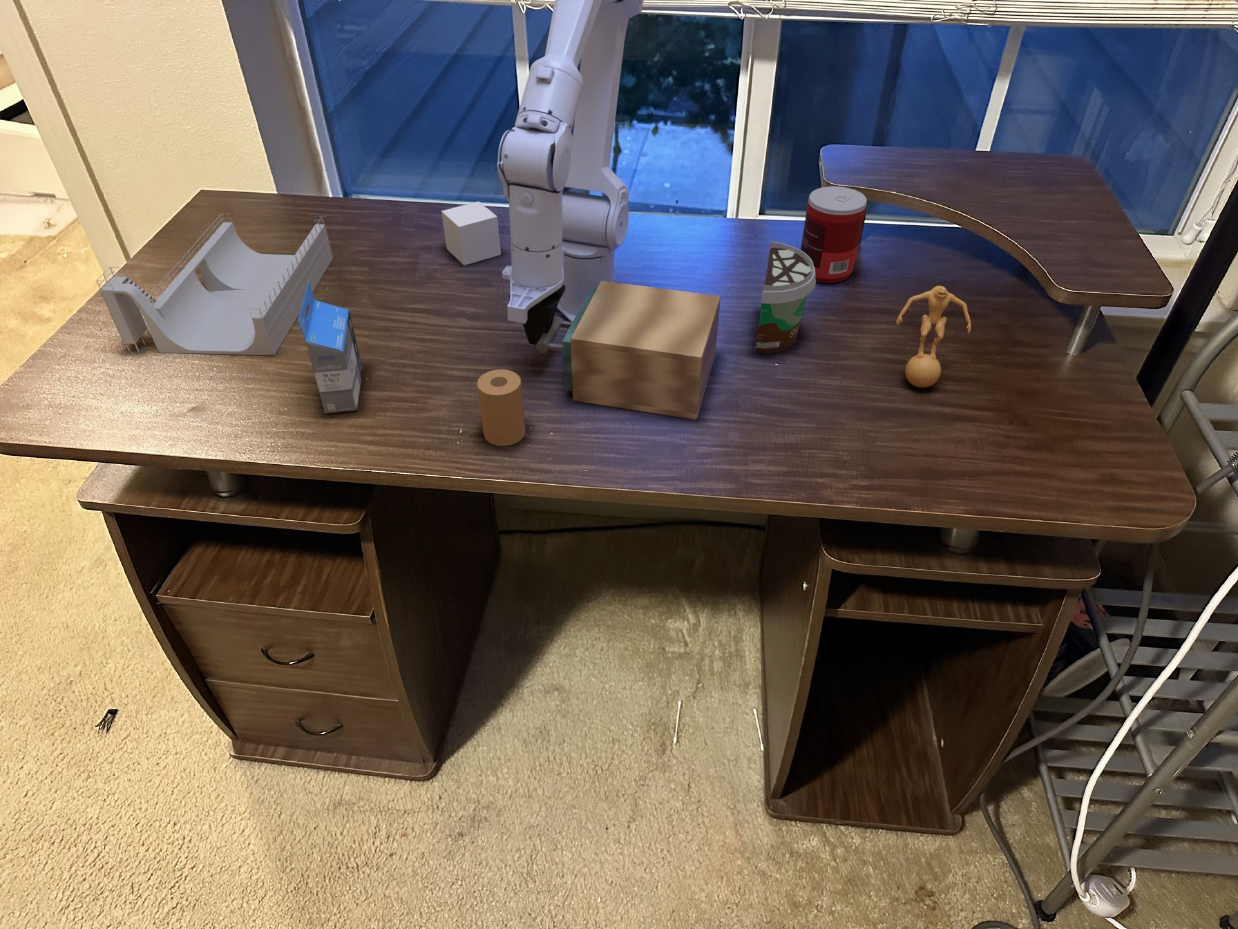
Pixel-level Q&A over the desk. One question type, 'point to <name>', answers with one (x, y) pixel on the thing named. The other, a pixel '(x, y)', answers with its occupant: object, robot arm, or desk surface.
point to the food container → (783, 297)
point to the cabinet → (645, 349)
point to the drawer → (548, 338)
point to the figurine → (924, 366)
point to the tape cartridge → (332, 353)
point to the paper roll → (501, 407)
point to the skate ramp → (222, 297)
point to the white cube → (471, 232)
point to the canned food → (833, 231)
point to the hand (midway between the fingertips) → (538, 342)
